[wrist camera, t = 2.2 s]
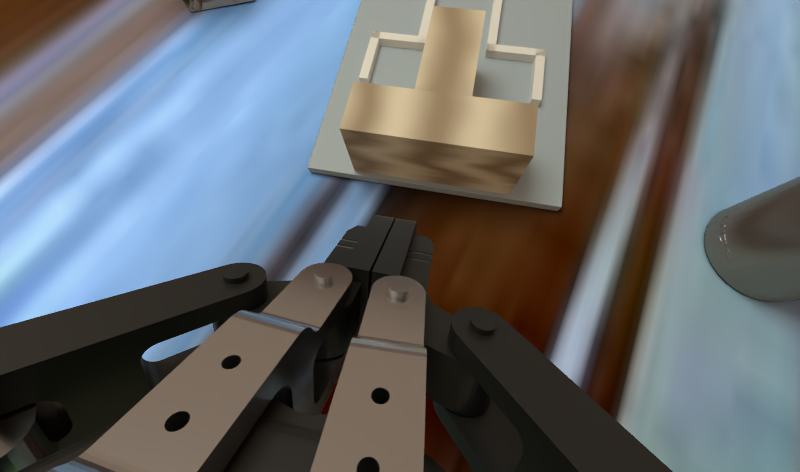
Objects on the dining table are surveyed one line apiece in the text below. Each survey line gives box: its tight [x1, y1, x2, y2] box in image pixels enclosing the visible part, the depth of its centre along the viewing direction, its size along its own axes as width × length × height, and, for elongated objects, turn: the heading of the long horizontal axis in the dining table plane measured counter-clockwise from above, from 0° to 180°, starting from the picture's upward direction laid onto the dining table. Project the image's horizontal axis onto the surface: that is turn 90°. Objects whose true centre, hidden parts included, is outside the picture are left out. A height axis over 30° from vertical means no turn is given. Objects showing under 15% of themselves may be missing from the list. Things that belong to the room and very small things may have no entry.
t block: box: [339, 6, 538, 194], centre depth 32 cm, size 16×15×7 cm
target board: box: [308, 0, 573, 211], centre depth 38 cm, size 26×32×2 cm
